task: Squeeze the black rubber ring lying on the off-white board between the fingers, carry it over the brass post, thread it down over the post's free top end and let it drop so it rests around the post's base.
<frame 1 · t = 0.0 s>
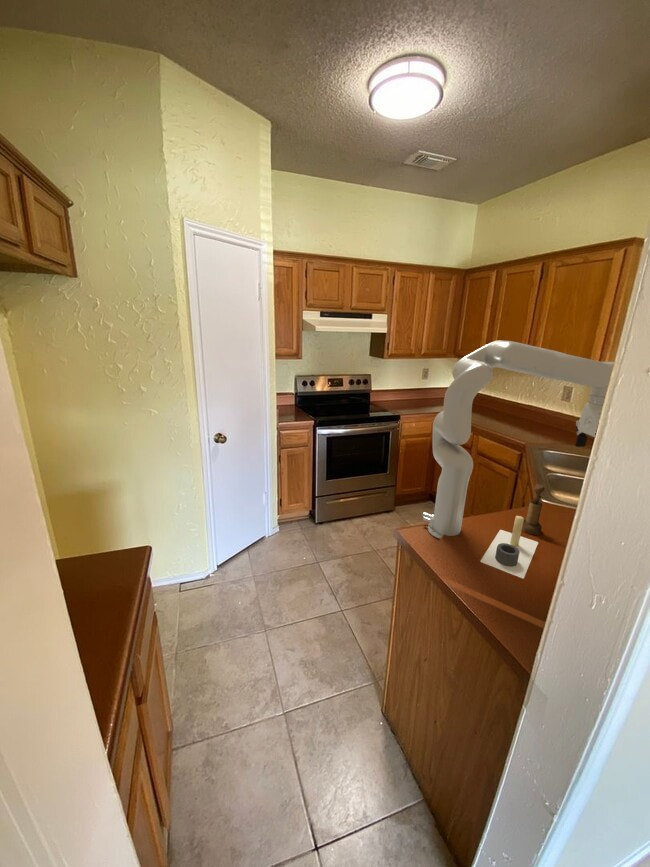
hand: (590, 451, 121), 31 cm above the counter, tool pointing down, fingers open, 9 cm apart
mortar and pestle: (530, 530, 132), on the counter
ring: (506, 560, 111), point 1 cm above the counter, touching post board
post board: (509, 555, 116), on the counter
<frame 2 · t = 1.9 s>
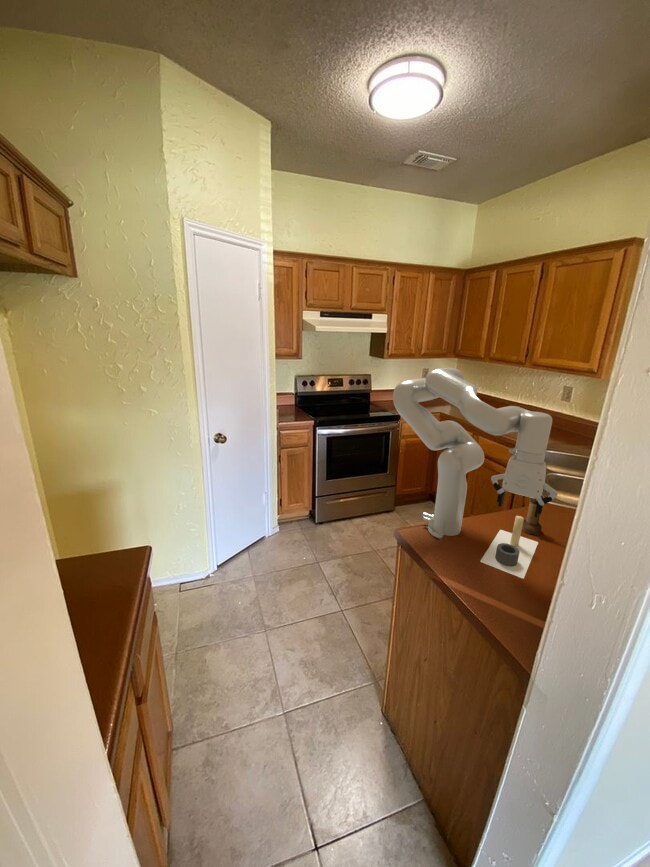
hand: (517, 510, 107), 19 cm above the counter, tool pointing down, fingers open, 9 cm apart
nothing on the counter moved.
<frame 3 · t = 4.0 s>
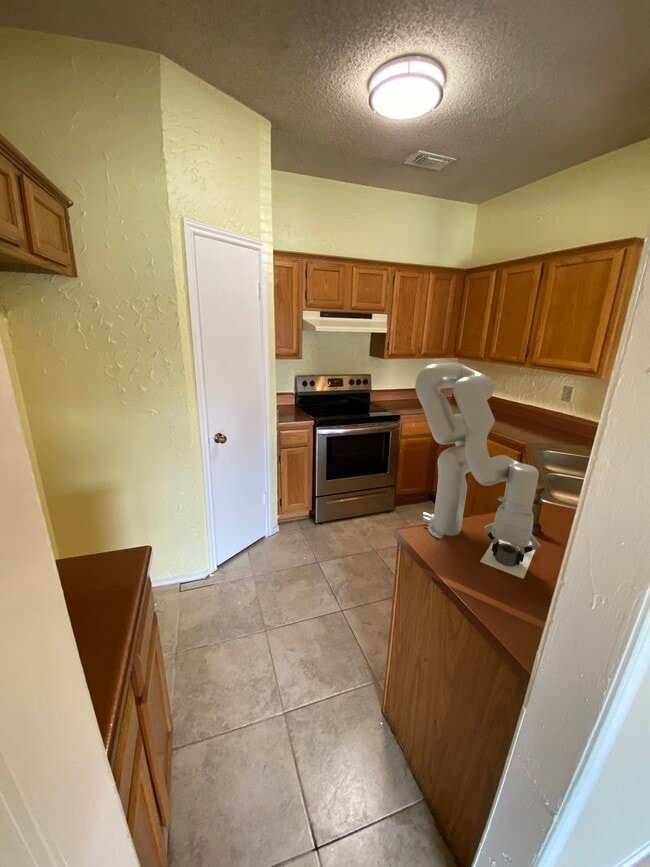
hand: (506, 557, 111), 2 cm above the counter, tool pointing down, fingers closed on ring, 6 cm apart
ring: (506, 560, 111), point 2 cm above the counter, touching gripper, post board
everything else where it was.
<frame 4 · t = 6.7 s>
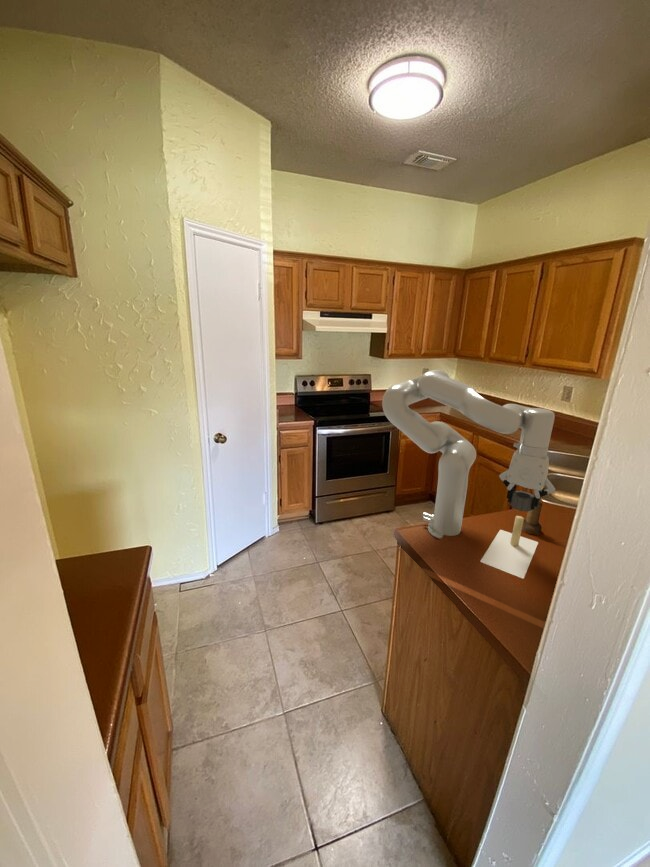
hand: (521, 504, 113), 18 cm above the counter, tool pointing down, fingers closed on ring, 6 cm apart
ring: (521, 506, 113), point 17 cm above the counter, touching gripper
everything else where it was.
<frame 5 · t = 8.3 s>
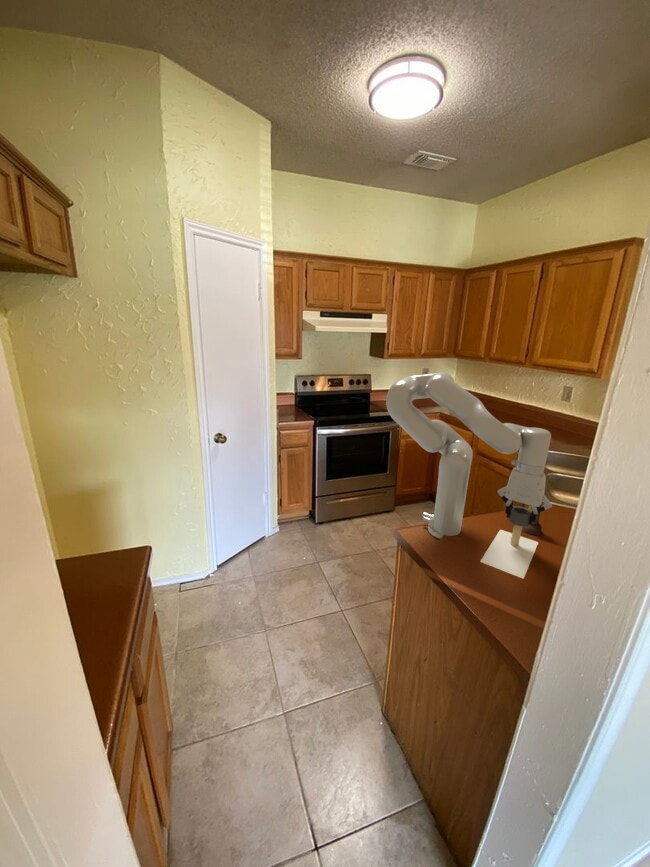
hand: (519, 519, 117), 11 cm above the counter, tool pointing down, fingers closed on ring, 6 cm apart
ring: (519, 521, 117), point 10 cm above the counter, touching gripper
everything else where it was.
when the fingers open (8 cm above the counter, at t = 9.5 s): ring drops 5 cm, resting on post board.
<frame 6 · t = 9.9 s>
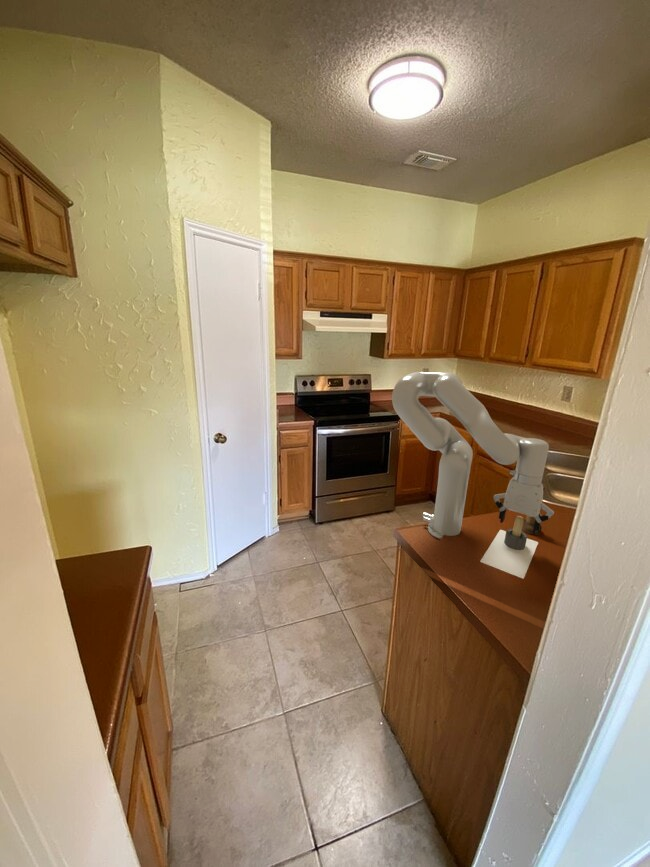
hand: (517, 526, 117), 8 cm above the counter, tool pointing down, fingers open, 9 cm apart
ring: (514, 544, 119), point 1 cm above the counter, touching post board
everything else where it was.
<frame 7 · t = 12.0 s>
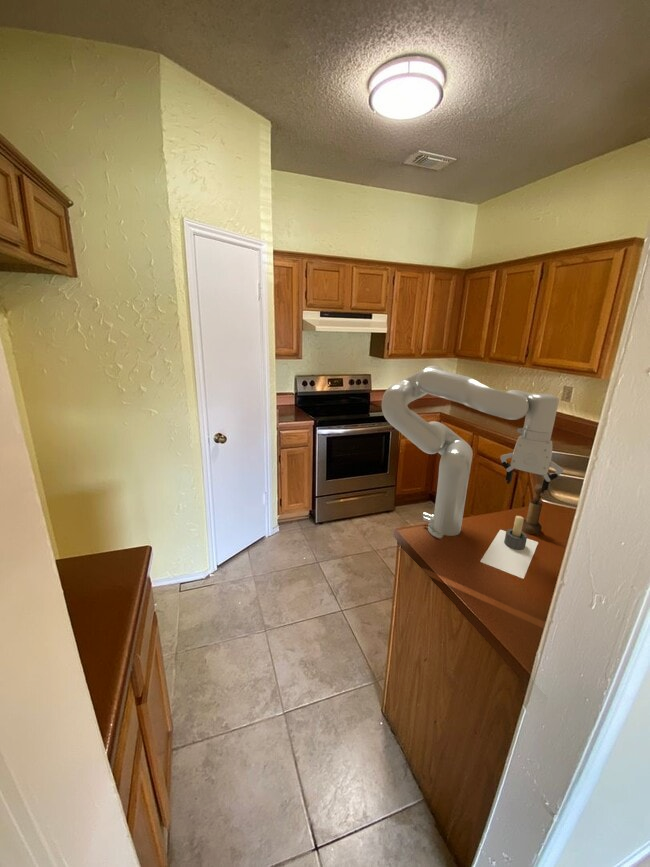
hand: (525, 487, 114), 22 cm above the counter, tool pointing down, fingers open, 9 cm apart
nothing on the counter moved.
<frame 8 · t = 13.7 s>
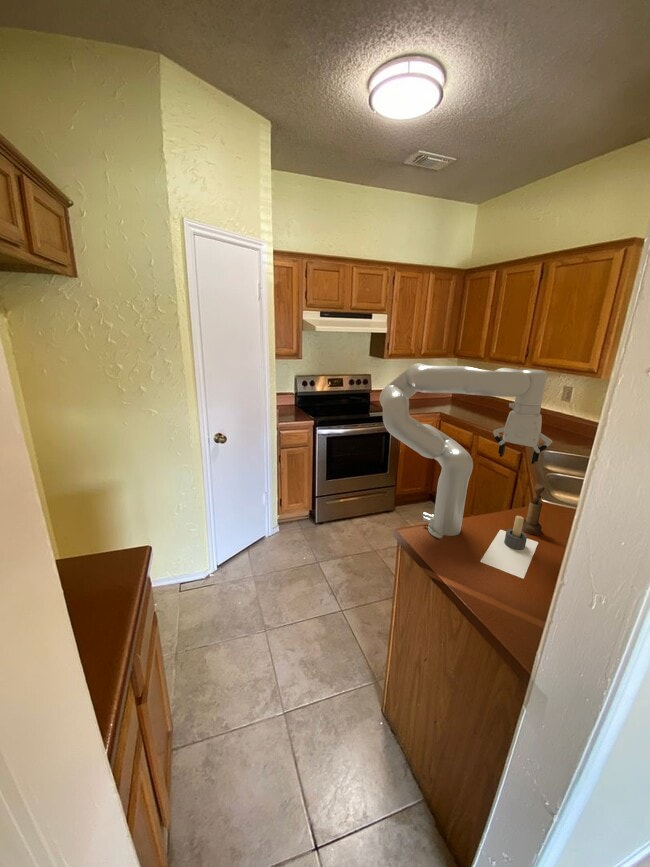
hand: (517, 459, 120), 28 cm above the counter, tool pointing down, fingers open, 9 cm apart
nothing on the counter moved.
at the end: ring 0.1 cm from the target spot on the post board, point 1.5 cm above the post board's base; ring tilted 0°; the gripper is holding nothing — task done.
